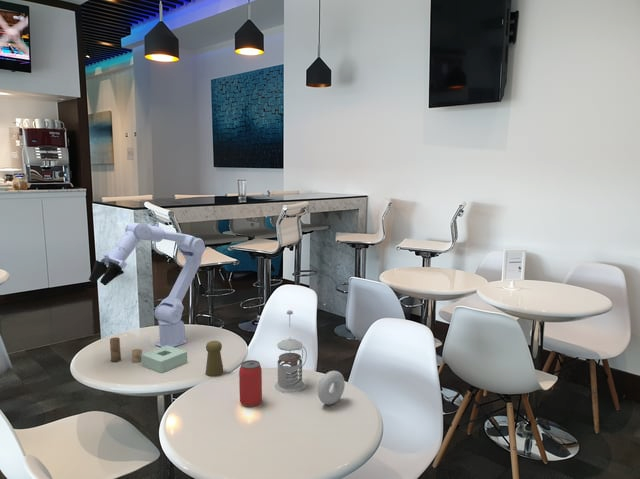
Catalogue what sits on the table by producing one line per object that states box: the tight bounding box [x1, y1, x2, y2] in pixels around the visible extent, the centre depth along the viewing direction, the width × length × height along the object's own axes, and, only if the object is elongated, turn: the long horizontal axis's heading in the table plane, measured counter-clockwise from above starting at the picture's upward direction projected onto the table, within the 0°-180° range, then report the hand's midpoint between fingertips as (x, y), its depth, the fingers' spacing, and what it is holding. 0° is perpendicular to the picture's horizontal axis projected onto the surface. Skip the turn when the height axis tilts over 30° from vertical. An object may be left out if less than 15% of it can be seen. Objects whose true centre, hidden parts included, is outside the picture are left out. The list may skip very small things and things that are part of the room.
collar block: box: [140, 345, 188, 374], centre depth 165 cm, size 11×11×4 cm
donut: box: [317, 370, 346, 406], centre depth 137 cm, size 10×4×10 cm, turn 134°
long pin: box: [109, 337, 122, 363], centre depth 168 cm, size 3×3×8 cm
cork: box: [205, 340, 224, 378], centre depth 158 cm, size 6×6×11 cm
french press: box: [274, 309, 308, 394], centre depth 148 cm, size 10×12×25 cm
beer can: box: [238, 359, 263, 408], centre depth 138 cm, size 7×7×12 cm
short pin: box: [131, 348, 143, 364], centre depth 168 cm, size 3×3×4 cm
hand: (96, 282), depth 157 cm, fingers open, 7 cm apart
